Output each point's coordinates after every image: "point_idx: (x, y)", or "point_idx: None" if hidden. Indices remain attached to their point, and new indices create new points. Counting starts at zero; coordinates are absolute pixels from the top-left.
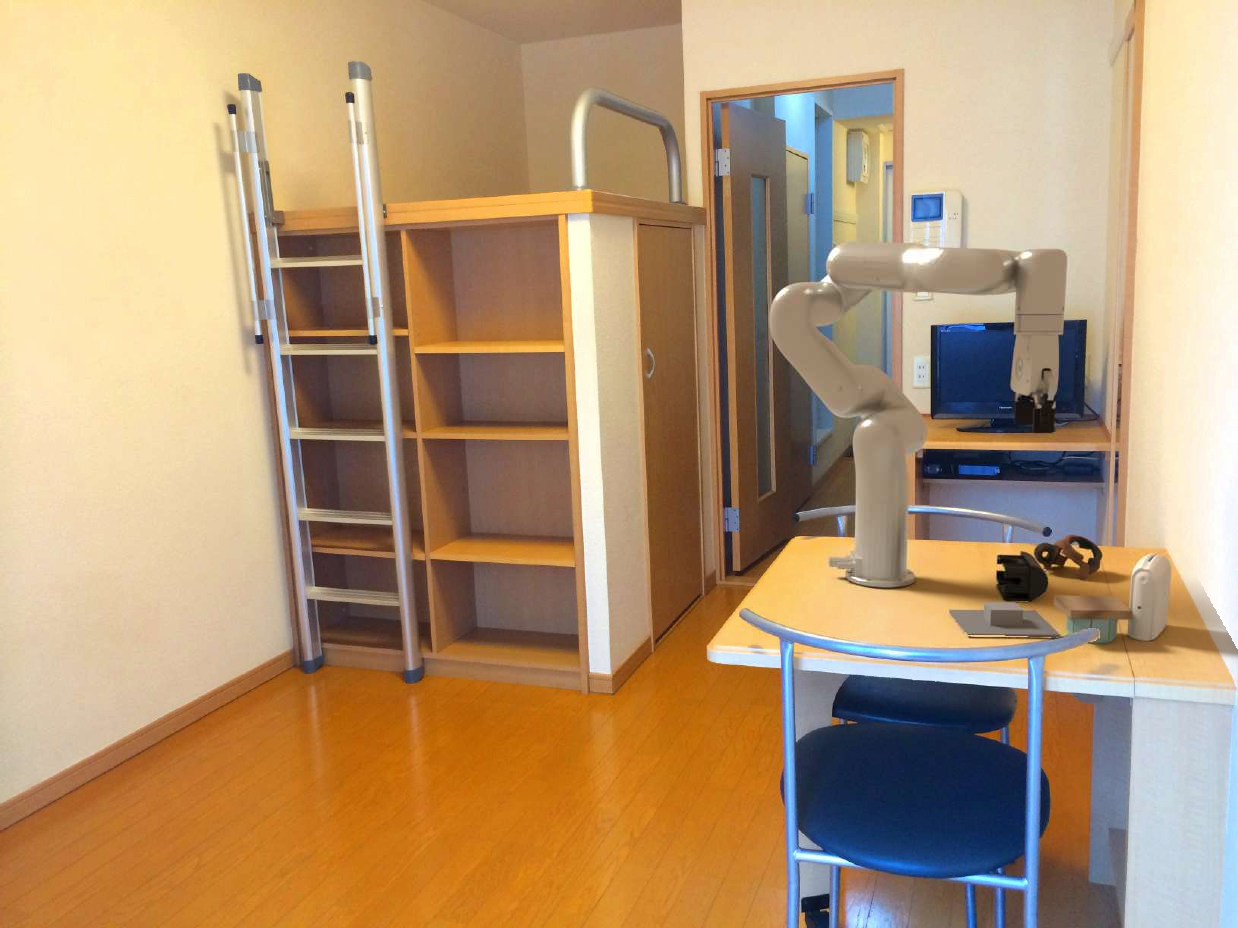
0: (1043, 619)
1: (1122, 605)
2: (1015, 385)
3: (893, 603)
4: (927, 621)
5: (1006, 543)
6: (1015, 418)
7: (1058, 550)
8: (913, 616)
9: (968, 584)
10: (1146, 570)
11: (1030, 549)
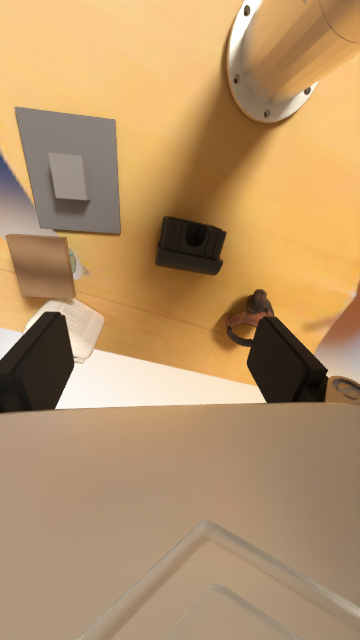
0: (89, 230)
1: (40, 294)
2: (275, 449)
3: (156, 35)
4: (75, 67)
5: (353, 293)
6: (274, 326)
7: (248, 310)
8: (95, 49)
9: (227, 196)
10: (24, 330)
11: (325, 307)
